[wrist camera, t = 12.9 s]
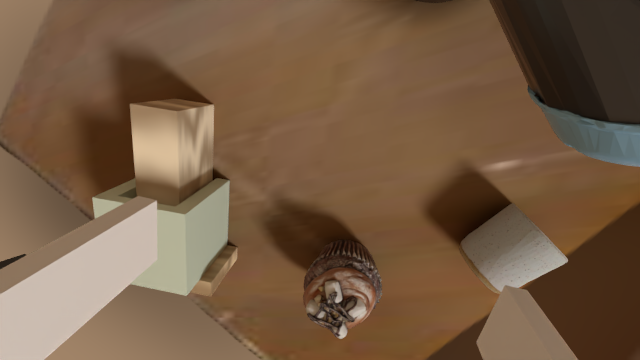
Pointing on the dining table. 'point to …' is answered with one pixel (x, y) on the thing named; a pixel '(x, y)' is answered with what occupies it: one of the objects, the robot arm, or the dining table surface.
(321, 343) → the dining table surface
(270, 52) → the dining table surface
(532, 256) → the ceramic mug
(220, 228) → the socket block
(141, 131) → the light wood rectangular block
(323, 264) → the cupcake
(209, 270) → the board
